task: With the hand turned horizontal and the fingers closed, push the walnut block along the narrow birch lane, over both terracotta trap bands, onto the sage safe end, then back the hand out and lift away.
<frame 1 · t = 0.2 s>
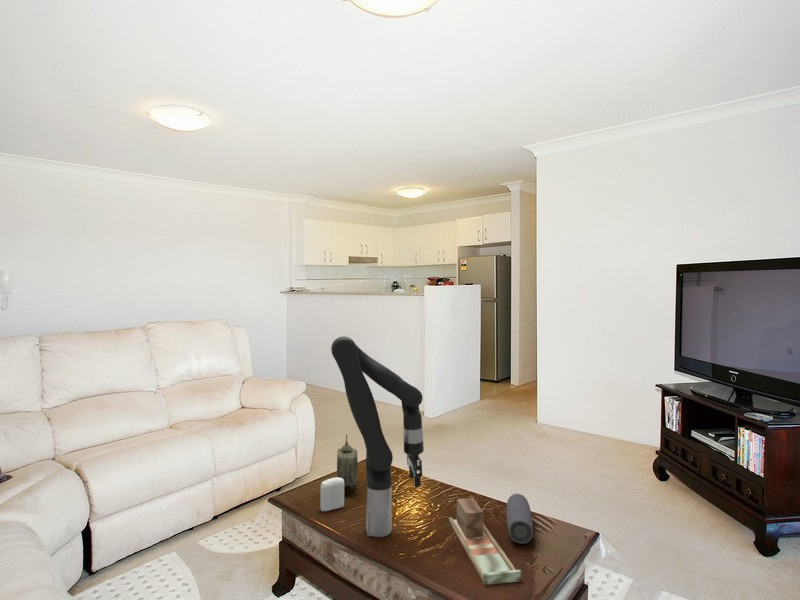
hand: (415, 482, 175), 18 cm above the table, tool pointing down, fingers open, 8 cm apart
bluetooth speaker: (518, 531, 173), on the table
walnut block: (469, 529, 175), resting on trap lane
grey-brown tall piece: (347, 490, 210), on the table
photo printer: (332, 508, 192), on the table
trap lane: (480, 546, 163), on the table
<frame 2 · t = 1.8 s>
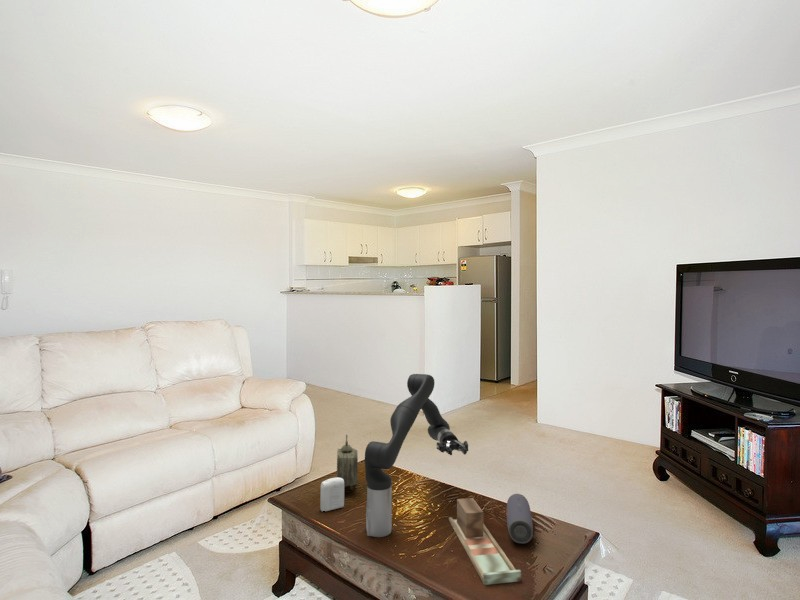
hand: (458, 452, 190), 24 cm above the table, tool horizontal, fingers open, 5 cm apart
nothing on the table moved.
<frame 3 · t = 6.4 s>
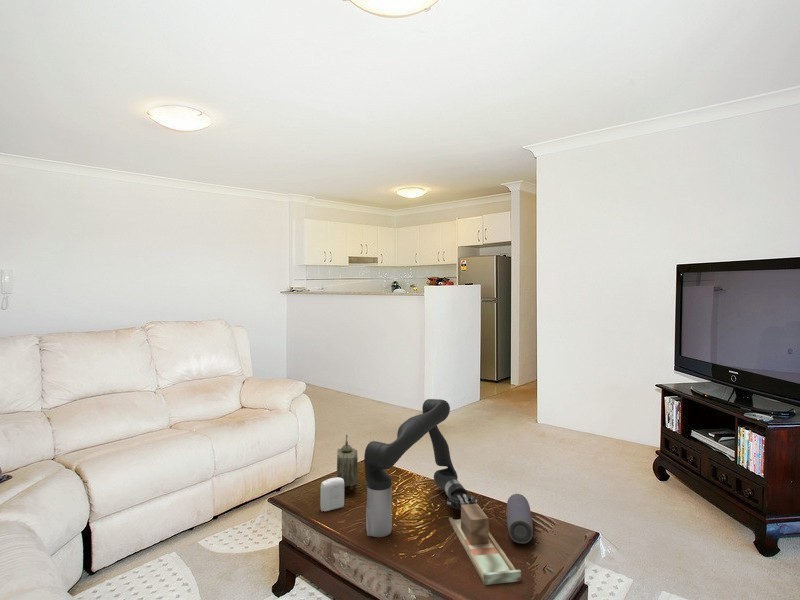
hand: (468, 511, 175), 7 cm above the table, tool horizontal, fingers closed
walnut block: (474, 535, 170), resting on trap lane, touching gripper
everything else where it was.
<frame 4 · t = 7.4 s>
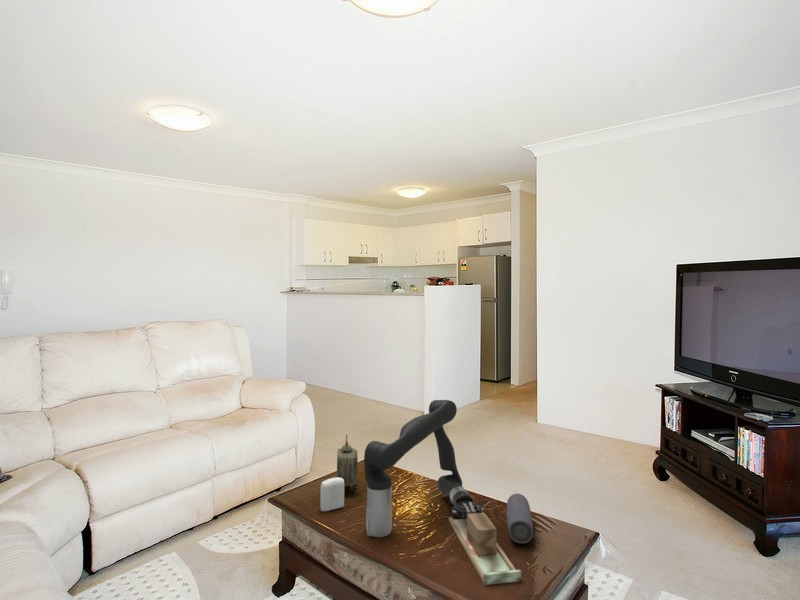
hand: (475, 520, 168), 7 cm above the table, tool horizontal, fingers closed
walnut block: (481, 546, 162), resting on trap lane
everything else where it was.
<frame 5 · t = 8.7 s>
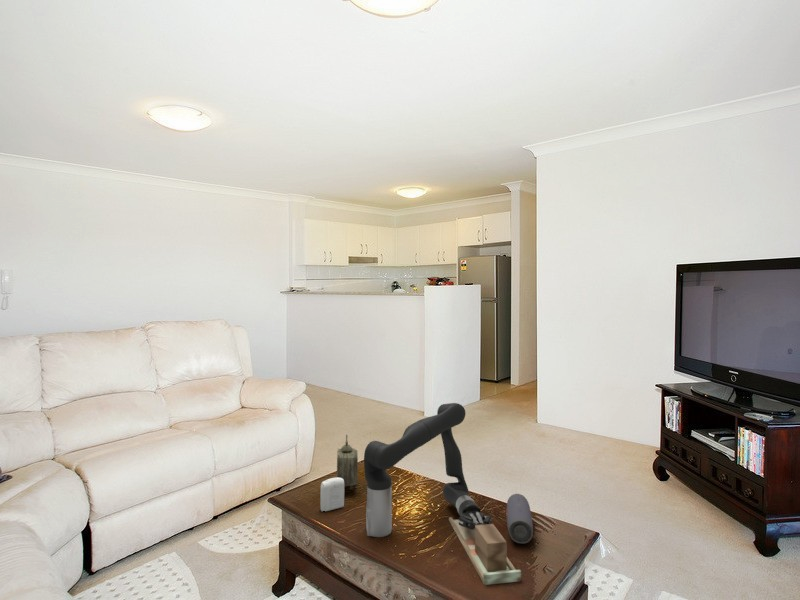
hand: (483, 531, 160), 7 cm above the table, tool horizontal, fingers closed
walnut block: (490, 560, 154), resting on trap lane, touching gripper
everything else where it was.
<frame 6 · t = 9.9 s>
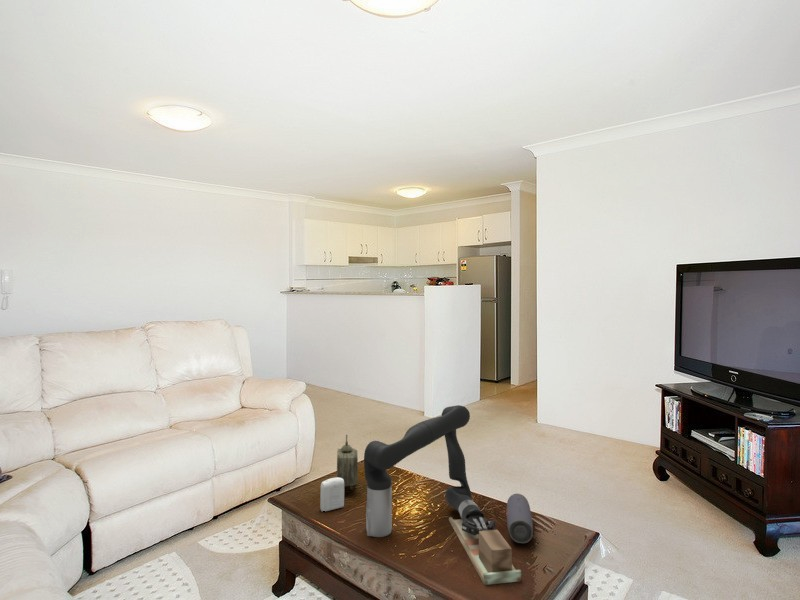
hand: (487, 538, 156), 7 cm above the table, tool horizontal, fingers closed
walnut block: (494, 567, 150), resting on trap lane
everything else where it was.
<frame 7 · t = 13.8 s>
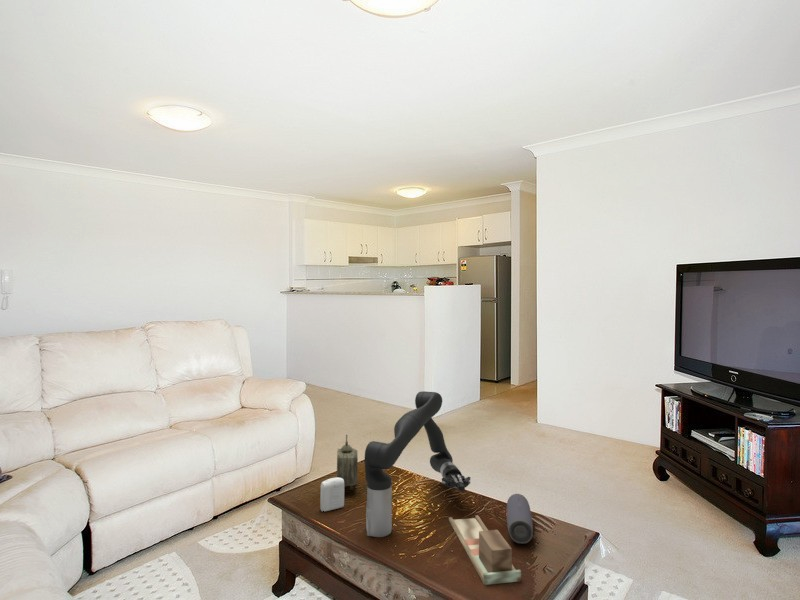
hand: (462, 489, 183), 12 cm above the table, tool horizontal, fingers closed
nothing on the table moved.
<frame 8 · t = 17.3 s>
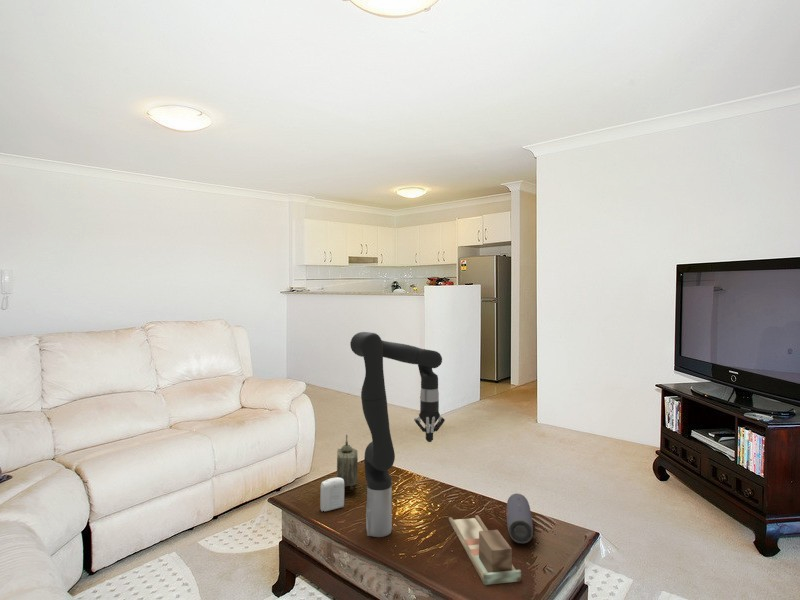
hand: (429, 441, 188), 29 cm above the table, tool pointing down, fingers closed
nothing on the table moved.
at the end: walnut block inside the target area (1.1 cm from its centre), resting on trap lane; walnut block tilted 0°; walnut block moved 25.0 cm from its start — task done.
